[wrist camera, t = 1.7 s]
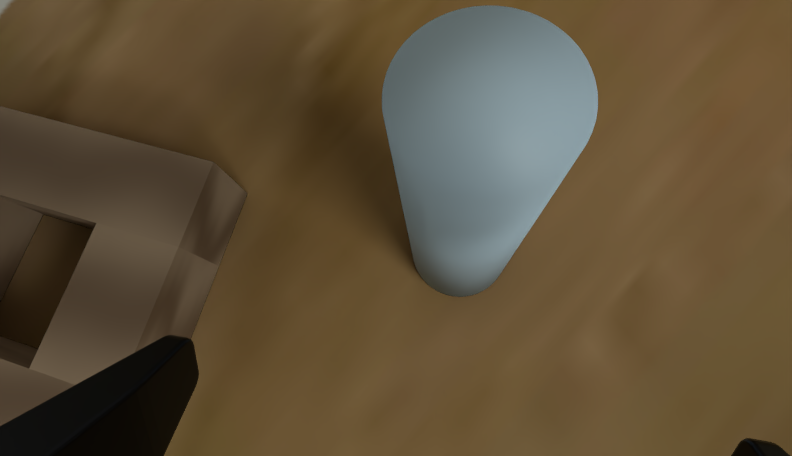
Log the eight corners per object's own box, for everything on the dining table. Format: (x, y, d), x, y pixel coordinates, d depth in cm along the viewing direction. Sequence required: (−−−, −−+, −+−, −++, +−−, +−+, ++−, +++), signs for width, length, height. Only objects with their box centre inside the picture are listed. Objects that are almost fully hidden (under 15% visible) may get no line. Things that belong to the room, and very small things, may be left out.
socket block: (134, 483, 22) (70, 507, 18) (-121, 386, 24) (-226, 390, 20) (247, 193, 25) (213, 161, 22) (14, 130, 28) (-54, 91, 24)
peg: (493, 308, 23) (574, 221, 10) (401, 282, 24) (354, 166, 10) (515, 219, 24) (616, 27, 11) (426, 196, 25) (414, -12, 11)
